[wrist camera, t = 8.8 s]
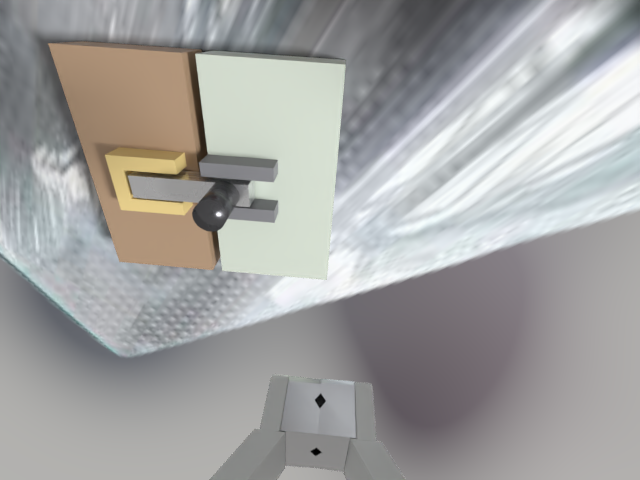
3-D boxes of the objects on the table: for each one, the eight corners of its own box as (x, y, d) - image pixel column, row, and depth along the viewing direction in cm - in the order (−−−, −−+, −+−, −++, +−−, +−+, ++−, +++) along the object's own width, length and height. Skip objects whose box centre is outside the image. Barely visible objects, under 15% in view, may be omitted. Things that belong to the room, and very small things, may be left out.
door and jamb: (345, 59, 28) (345, 67, 23) (328, 257, 38) (325, 292, 33) (83, 41, 28) (26, 44, 23) (139, 241, 39) (108, 273, 34)
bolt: (253, 173, 29) (234, 205, 24) (255, 199, 30) (236, 233, 25) (139, 164, 29) (96, 193, 24) (145, 190, 30) (105, 222, 25)
